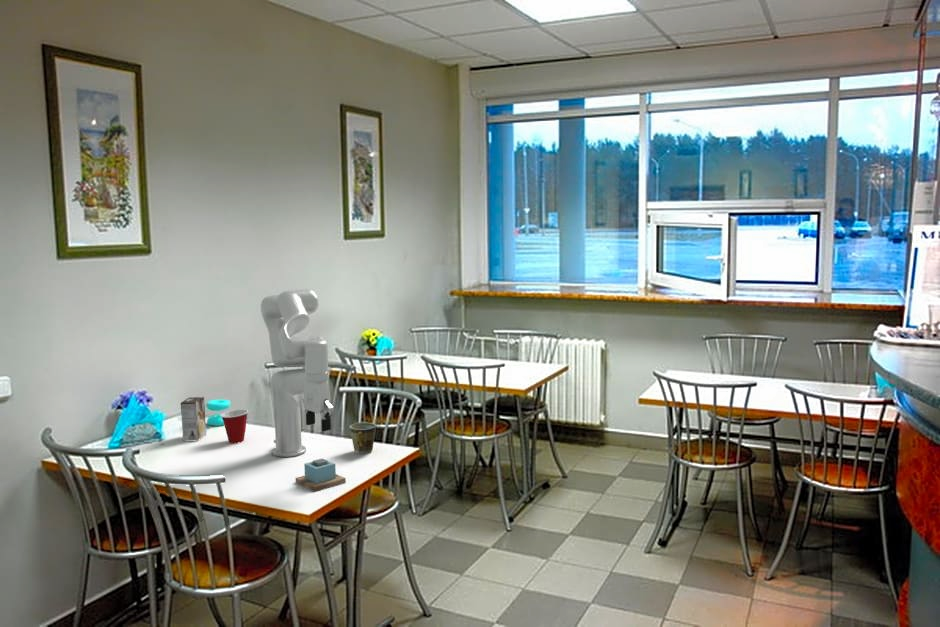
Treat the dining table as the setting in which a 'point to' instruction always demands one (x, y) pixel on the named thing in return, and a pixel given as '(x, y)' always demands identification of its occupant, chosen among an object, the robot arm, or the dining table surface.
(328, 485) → the post base
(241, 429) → the plastic cup
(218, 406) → the donuts
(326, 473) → the blue hollow block
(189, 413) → the coffee box
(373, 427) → the ceramic cup
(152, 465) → the dining table surface
